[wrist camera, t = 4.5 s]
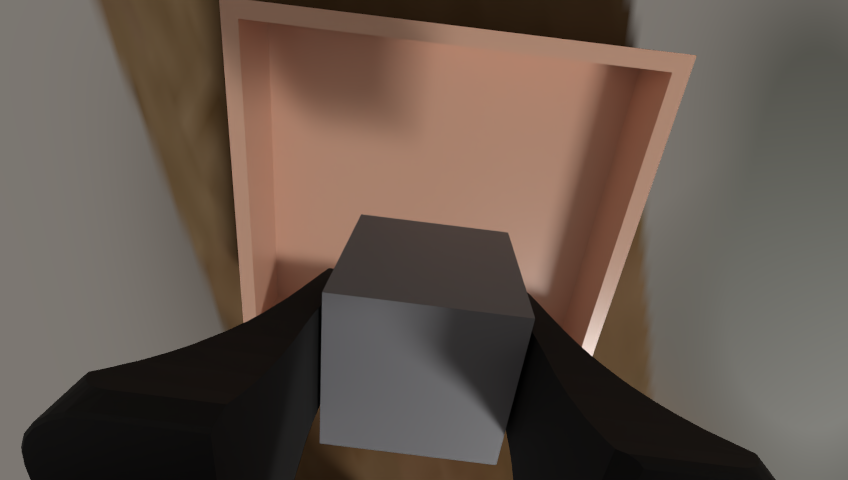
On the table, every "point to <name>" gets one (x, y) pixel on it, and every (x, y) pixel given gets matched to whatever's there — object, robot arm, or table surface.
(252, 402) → the robot arm
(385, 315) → the grey block
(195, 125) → the table surface
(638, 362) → the table surface
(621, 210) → the terracotta bin
